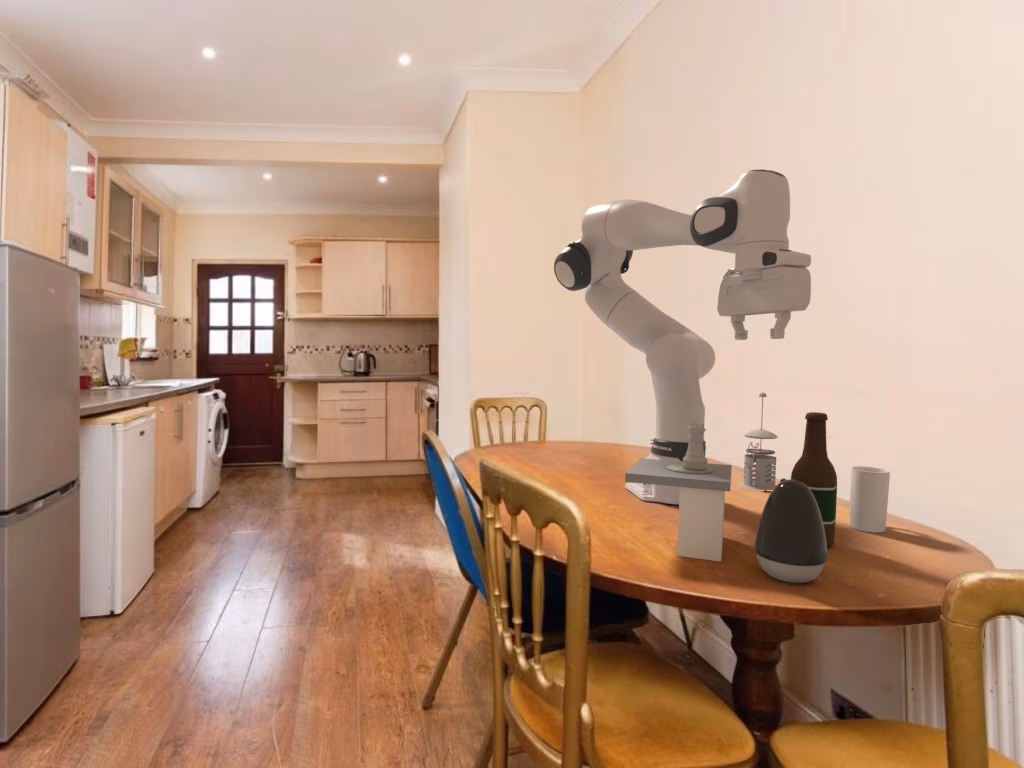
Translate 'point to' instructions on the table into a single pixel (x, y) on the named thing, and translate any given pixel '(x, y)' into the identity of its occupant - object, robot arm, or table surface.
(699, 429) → the rook chess piece
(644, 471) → the grey pedestal stand
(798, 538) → the dark grey egg speaker
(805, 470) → the beer bottle
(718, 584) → the table surface
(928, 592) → the table surface
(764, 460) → the french press
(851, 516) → the mug
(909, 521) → the table surface
